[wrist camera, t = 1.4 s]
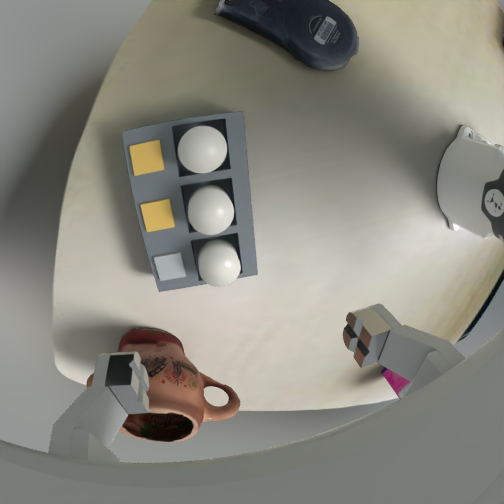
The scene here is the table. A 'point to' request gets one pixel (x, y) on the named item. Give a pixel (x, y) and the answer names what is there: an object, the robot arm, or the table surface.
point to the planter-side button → (218, 263)
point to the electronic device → (299, 28)
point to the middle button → (210, 210)
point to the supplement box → (397, 382)
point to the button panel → (187, 197)
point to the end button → (202, 149)
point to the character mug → (171, 390)
